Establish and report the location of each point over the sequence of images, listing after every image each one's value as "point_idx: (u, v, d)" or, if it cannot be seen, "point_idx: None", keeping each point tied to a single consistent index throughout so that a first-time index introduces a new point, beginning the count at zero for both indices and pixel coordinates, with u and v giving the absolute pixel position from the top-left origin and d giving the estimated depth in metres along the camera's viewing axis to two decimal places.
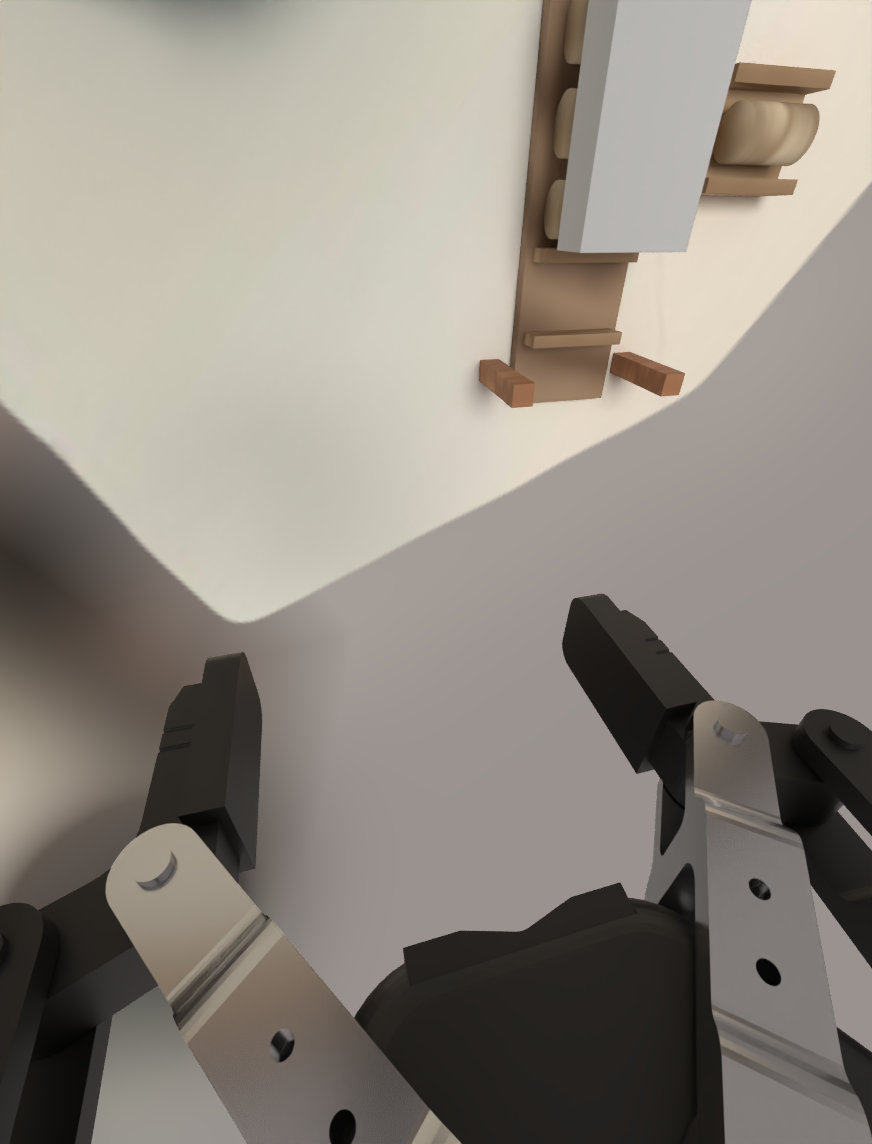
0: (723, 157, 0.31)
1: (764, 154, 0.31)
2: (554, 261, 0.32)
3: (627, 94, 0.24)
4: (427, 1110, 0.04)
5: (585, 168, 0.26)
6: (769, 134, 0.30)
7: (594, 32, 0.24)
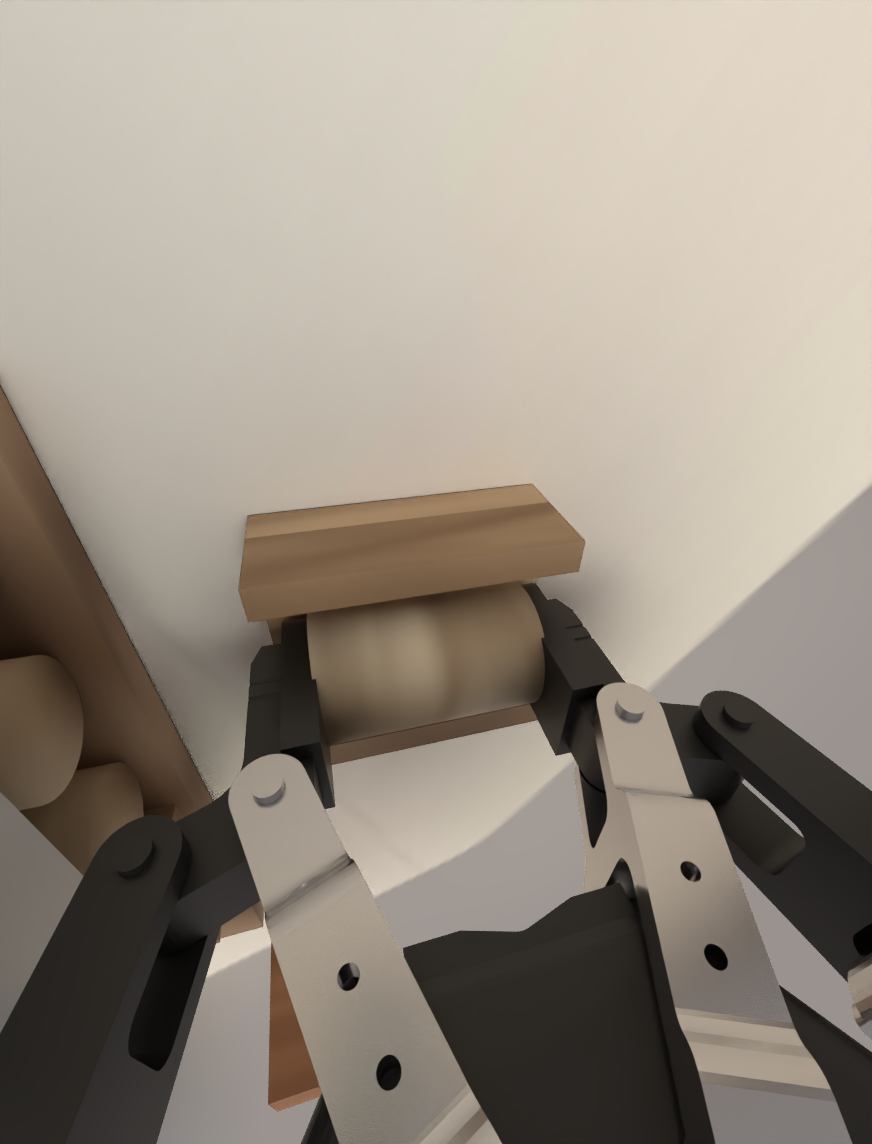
0: None
1: None
2: None
3: None
4: (469, 1090, 0.05)
5: None
6: (397, 722, 0.10)
7: None
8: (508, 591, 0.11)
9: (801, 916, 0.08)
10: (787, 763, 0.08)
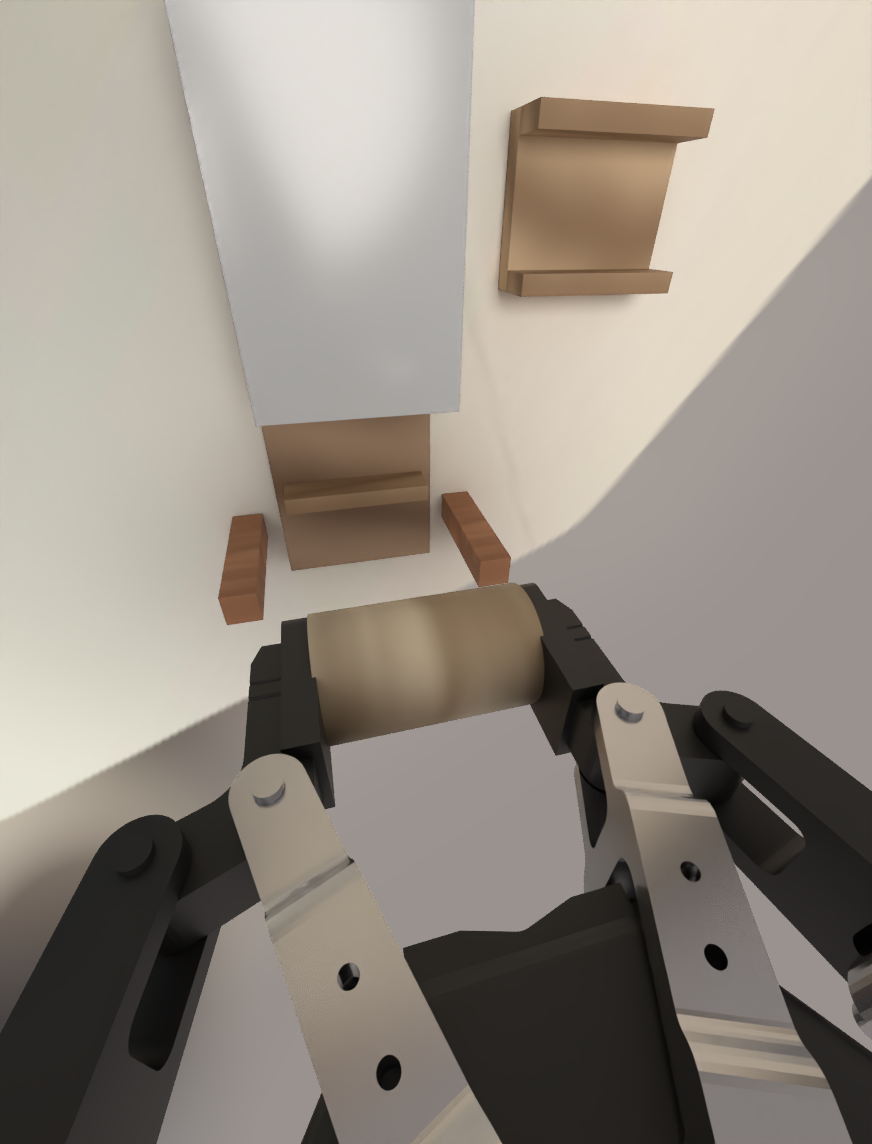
0: None
1: None
2: None
3: (254, 170, 0.12)
4: (469, 1090, 0.05)
5: None
6: (397, 724, 0.10)
7: None
8: (508, 592, 0.11)
9: (801, 916, 0.08)
10: (787, 763, 0.08)
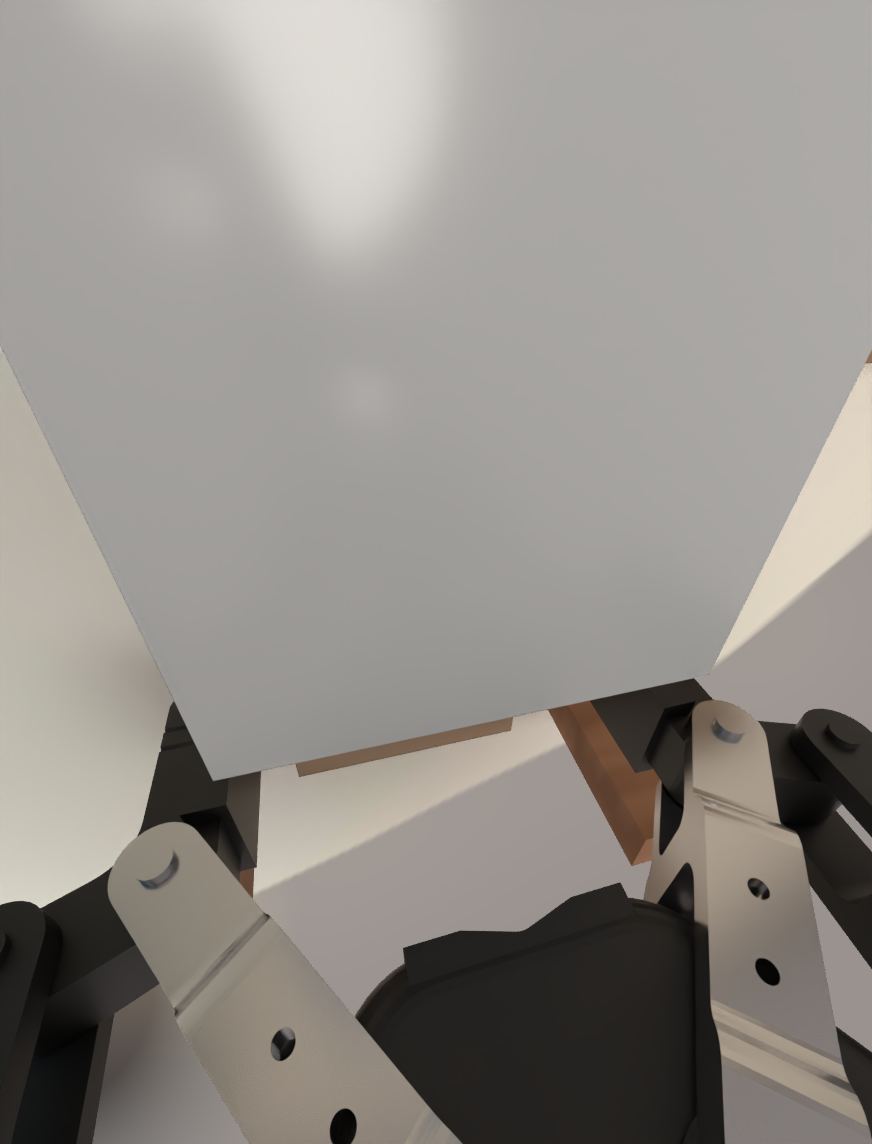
0: None
1: None
2: None
3: None
4: (428, 1110, 0.04)
5: None
6: None
7: None
8: None
9: None
10: None
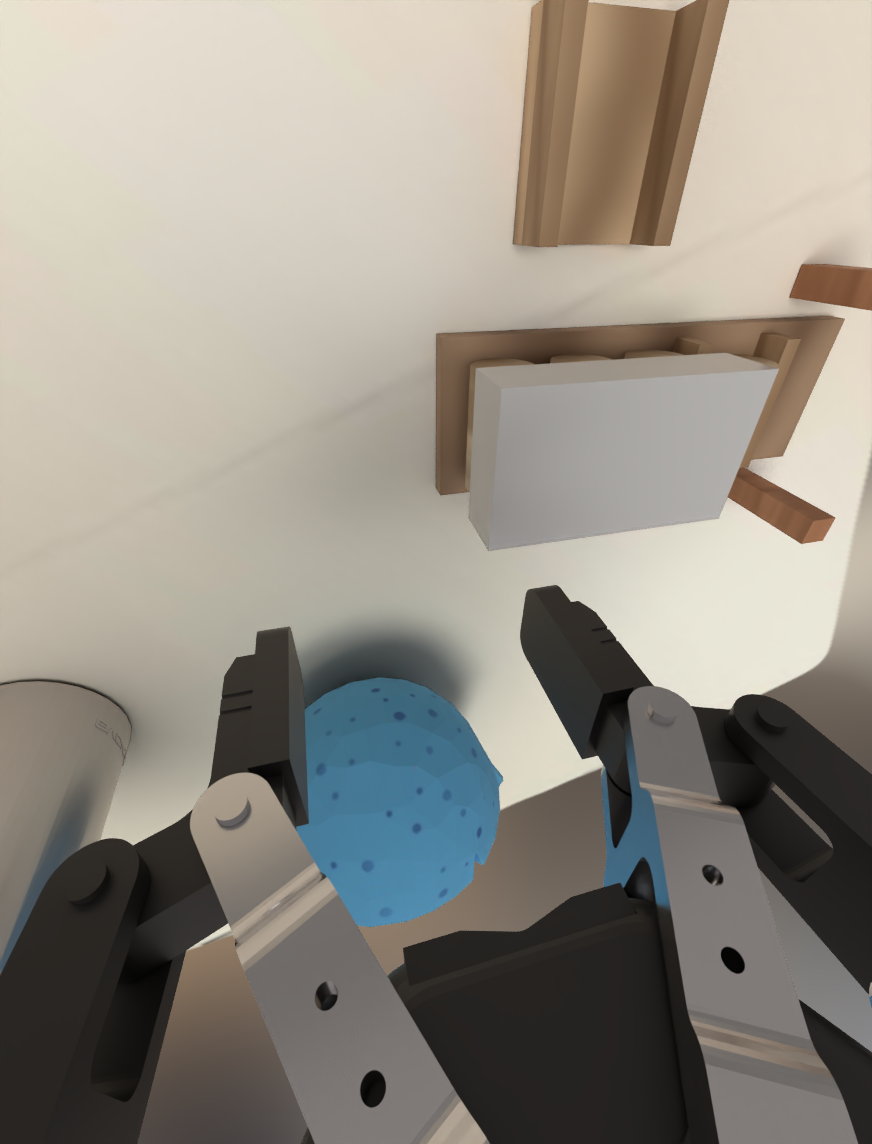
0: None
1: None
2: None
3: (605, 511, 0.22)
4: (454, 1095, 0.05)
5: None
6: None
7: None
8: None
9: (825, 926, 0.08)
10: (820, 770, 0.08)
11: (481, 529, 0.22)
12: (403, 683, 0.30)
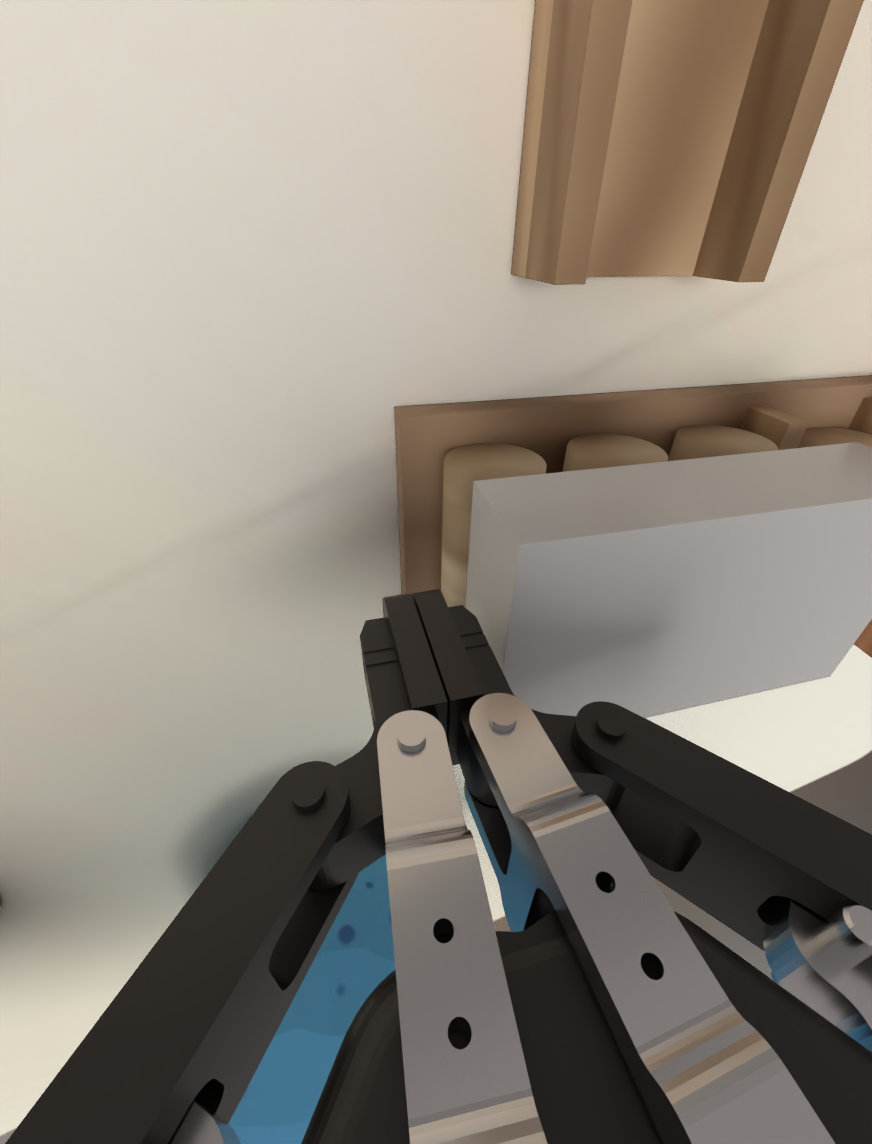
0: None
1: None
2: None
3: (672, 686, 0.14)
4: (530, 1093, 0.05)
5: None
6: None
7: None
8: None
9: (709, 902, 0.08)
10: (666, 764, 0.08)
11: None
12: None
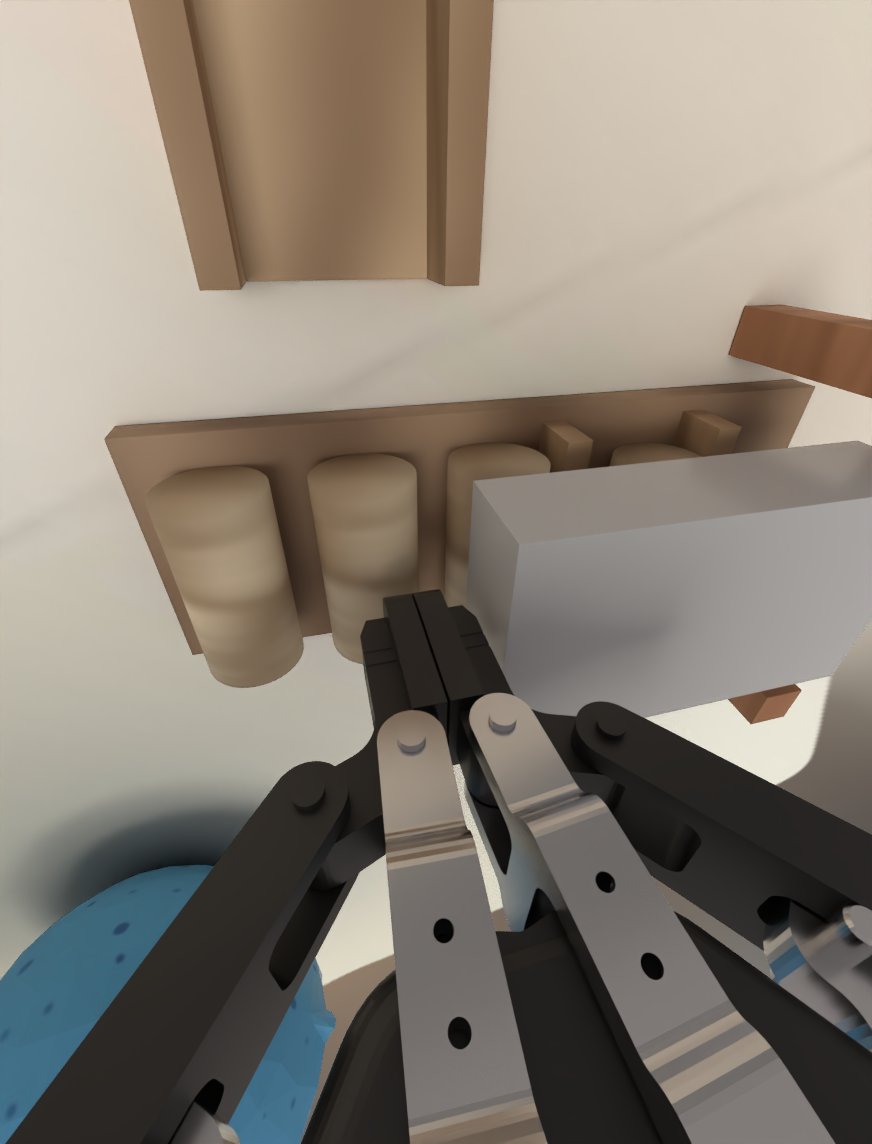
0: None
1: None
2: None
3: (673, 686, 0.14)
4: (530, 1094, 0.05)
5: None
6: None
7: None
8: None
9: (709, 902, 0.08)
10: (666, 764, 0.08)
11: None
12: (179, 901, 0.21)
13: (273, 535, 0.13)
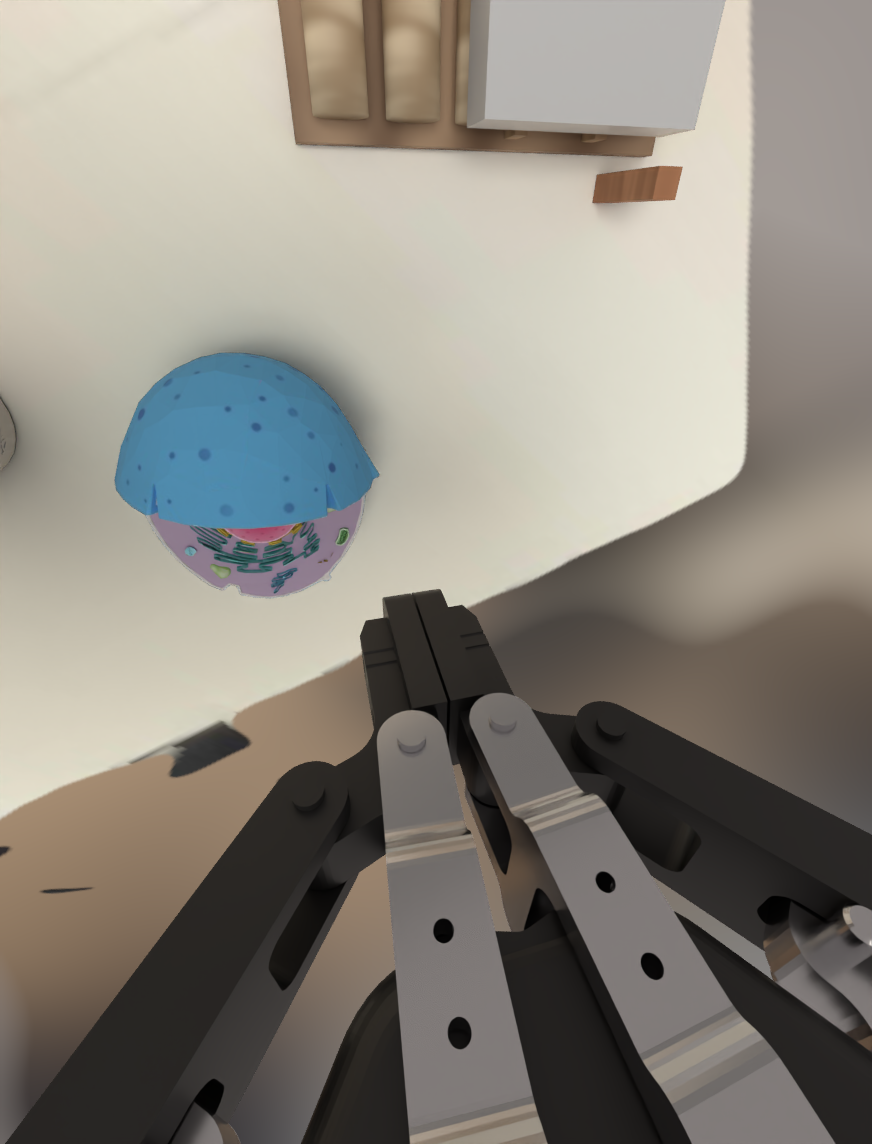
0: None
1: None
2: None
3: (590, 89, 0.24)
4: (530, 1094, 0.05)
5: (624, 128, 0.26)
6: None
7: (526, 127, 0.26)
8: None
9: (709, 902, 0.08)
10: (666, 764, 0.08)
11: (478, 108, 0.24)
12: None
13: None
